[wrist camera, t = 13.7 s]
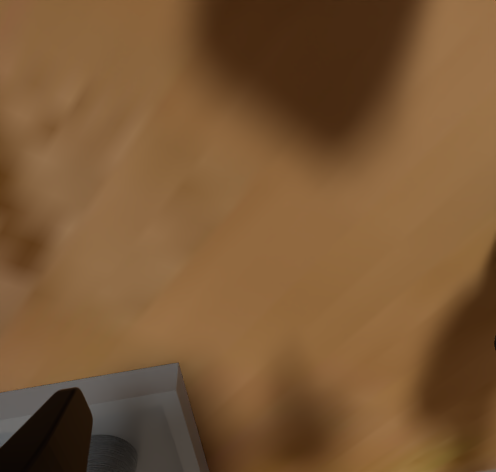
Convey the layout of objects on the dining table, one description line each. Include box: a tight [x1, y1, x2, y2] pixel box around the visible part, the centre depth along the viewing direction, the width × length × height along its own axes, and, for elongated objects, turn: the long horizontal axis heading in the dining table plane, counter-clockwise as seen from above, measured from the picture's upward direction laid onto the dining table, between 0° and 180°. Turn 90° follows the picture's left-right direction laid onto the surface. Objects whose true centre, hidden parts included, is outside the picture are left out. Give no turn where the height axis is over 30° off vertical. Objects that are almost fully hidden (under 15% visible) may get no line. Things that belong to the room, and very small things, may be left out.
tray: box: [0, 363, 209, 472], centre depth 25 cm, size 13×13×2 cm
